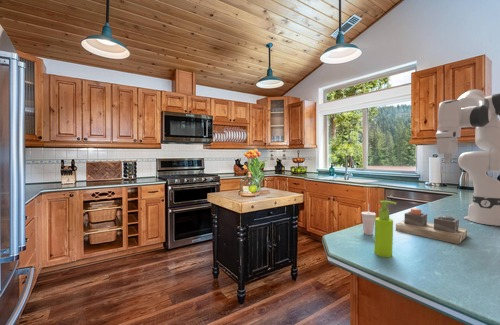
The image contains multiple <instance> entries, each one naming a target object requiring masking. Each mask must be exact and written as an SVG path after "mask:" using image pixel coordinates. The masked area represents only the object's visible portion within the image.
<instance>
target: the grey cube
mask: <svg viewBox="0 0 500 325" xmlns="http://www.w3.org/2000/svg"><path fill="white" fill-rule="evenodd" d="M439 216H440V219H443V220H449V221H453V218H454V217H452V216H451V215H450V216H448V215H439Z"/></svg>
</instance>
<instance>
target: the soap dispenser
mask: <svg viewBox="0 0 500 325" xmlns="http://www.w3.org/2000/svg"><path fill="white" fill-rule="evenodd" d="M379 203H380V204H381V208H379V209H378V216H377V217H375V222H374V251H373V252H374V254H375V255H376V256H379V257H383V258H391V257H393V244H394V243H393V240H394V239H393V238H394V220H393V219H392V218H390V210H389V209H388V204H392V205H395V206H396V205H397V202H395V201H392V200H391V201H390V200H380V201H379Z"/></svg>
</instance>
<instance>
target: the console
mask: <svg viewBox="0 0 500 325" xmlns="http://www.w3.org/2000/svg"><path fill="white" fill-rule="evenodd" d="M440 216H441V215H438V216H436V217H434V218H433V222H429V221H428V213H425V212H424V213H423V212H421V216H419V215H413V214H411V210H410V211H408V212H405V213H404V219H403V220H401V221H399V222H397V223H396V224H395V231H398V232H402V233H407V234H411V235H416V236H420V237H426V238H430V239H434V240H438V241H439V240H440V241H444V242H448V243H452V244H456V245H459V244H461V242H463V240H465V238H467V236H468V229H466V228H463V227H462V228H461V227H459V225H460V223H459V222H460V219H459V218H454V217H453V221H449V220H443V219H440Z"/></svg>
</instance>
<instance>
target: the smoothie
mask: <svg viewBox="0 0 500 325" xmlns="http://www.w3.org/2000/svg"><path fill="white" fill-rule="evenodd" d="M360 214H361V217H362V218H361V221H362V229H363V234H364V235H369V236H372V235H373V232H374V229H375V218H377V213H375V212H373V211H370V203H367V211H361V212H360Z"/></svg>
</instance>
